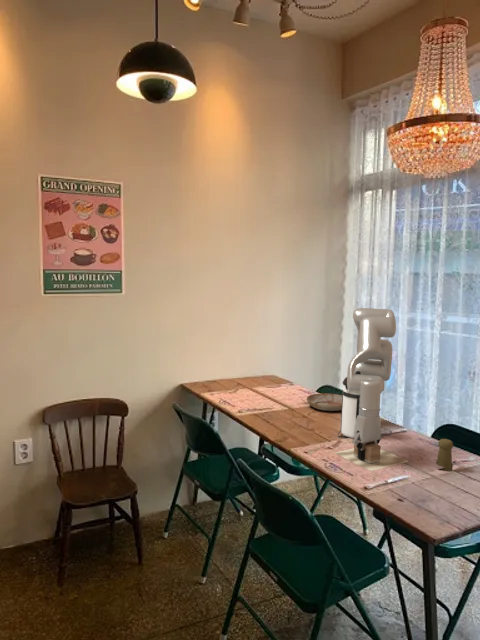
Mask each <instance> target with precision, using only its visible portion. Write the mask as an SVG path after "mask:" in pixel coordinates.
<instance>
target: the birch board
mask: <svg viewBox="0 0 480 640" xmlns="http://www.w3.org/2000/svg"><path fill="white" fill-rule="evenodd" d="M334 454H336V455H337V456H340V457H342V458H344V459H345V460H348V461H350V462H352V463H353V464H355V465H357V466H359V467H360V468H361V467H362V468H363V469H366V470H368V471H369V472H373V471H377V470H381V469H386V468H389V467H393V466H396V465H397V466H398V465H401V464H404V463H409V462H410V461H409V460H407V459H406V458H405V459H404V458H402V457H400V456H397V455H395V454H394V453H391V452H388V451H387V450H384V449H382V448H381V450H380V461H379V462H375V463H371V464H370V463H368V462H366V461H362V460H360V459H358V457H356V456H354V447H353V448H349V449H345V450H339V451H336V452H334Z"/></svg>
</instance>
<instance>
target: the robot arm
mask: <svg viewBox="0 0 480 640" xmlns="http://www.w3.org/2000/svg"><path fill="white" fill-rule="evenodd" d="M352 319H353V322H354V324H355V326H356V329H357V337H356V354H355V355H354V356H353V357H352V358H351V360H350V361H349V363H348V366H347V376H346V377H347V388H348V390H349V391H350V392H351V393H358V394H360V404H359V415H357V418H356V423H355V429H354V438H352V441H351V443H352V444H353V446H354V445H355V446H356V447H357V448H358V459H360V460H362V461H364V460H365V450H364V448H365V444H366V443H368V442H373V443H375V444H377V445H379V443H380V441H382V439H383V435H382V421H381V415H380V411H381V407H380V406H381V394H382V393H383V392H384V390H385V382H387V381H388V380H390V378H391V373H392V362H393V344H392V342H391V341H390V340H387V339H382V338H388V339H390V338H391V339H392V338H394V336H395V335H396V334H397V333H396V332H397V322H396V318H395V312H394V311H393V310H392V309H389V308H388V309H386V308H369V307H368V308H367V307H357V308H355V309H354V310H353V313H352ZM356 371H360V373H361V374H355V373H356ZM361 443H362V446H361Z"/></svg>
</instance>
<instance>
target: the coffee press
mask: <svg viewBox="0 0 480 640" xmlns="http://www.w3.org/2000/svg"><path fill="white" fill-rule="evenodd" d="M355 374H361V373H360V371H356V373H355ZM342 387H343V388H342V394H341V395H342V402H343V403H342V410H340V412H341V414H340V430H339V431H338V433H337V437H338V438H341V437H343V436H345V437H346V438H350V439H354V429H355V423H356V418H357V415H359V404H360V394H358V393H351V392H350V391H349V390H348V388H347V376H345V378H344V379H343V380H342ZM340 433H341V434H340ZM339 434H340V435H339Z"/></svg>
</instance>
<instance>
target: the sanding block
mask: <svg viewBox="0 0 480 640" xmlns="http://www.w3.org/2000/svg"><path fill="white" fill-rule="evenodd" d="M361 446H362V443H361ZM381 447H382V446H381V445H379V444H378V445H377V444H375V443H373V442H368V443H366V444H365V448H364V450H365V460H364V461H366V462H368V463H370V464H371V463H375V462H379V461H380V450H381V449H382V448H381ZM353 448H354V456H356V457H358V448H357V447H356V446H355V445H354V444H353Z"/></svg>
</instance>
